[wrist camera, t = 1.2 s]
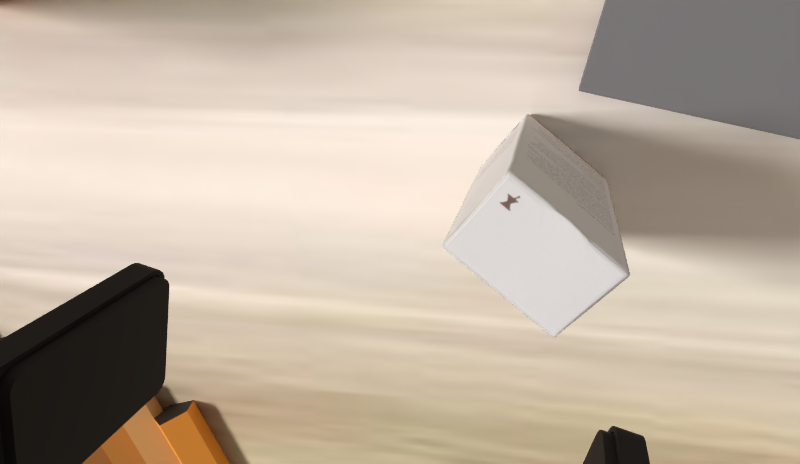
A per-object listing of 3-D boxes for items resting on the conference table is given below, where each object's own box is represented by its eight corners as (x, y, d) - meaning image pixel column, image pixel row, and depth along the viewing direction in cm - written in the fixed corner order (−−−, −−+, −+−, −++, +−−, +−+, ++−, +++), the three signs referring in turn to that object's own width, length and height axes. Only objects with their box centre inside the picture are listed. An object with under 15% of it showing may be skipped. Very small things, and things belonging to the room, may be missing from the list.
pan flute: (-80, 307, 52) (63, 517, 58) (-120, 326, 49) (35, 545, 55) (109, 232, 43) (256, 490, 49) (74, 249, 40) (235, 522, 46)
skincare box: (478, 168, 33) (435, 245, 22) (528, 111, 31) (508, 165, 20) (557, 234, 33) (553, 343, 22) (612, 182, 31) (636, 273, 20)
